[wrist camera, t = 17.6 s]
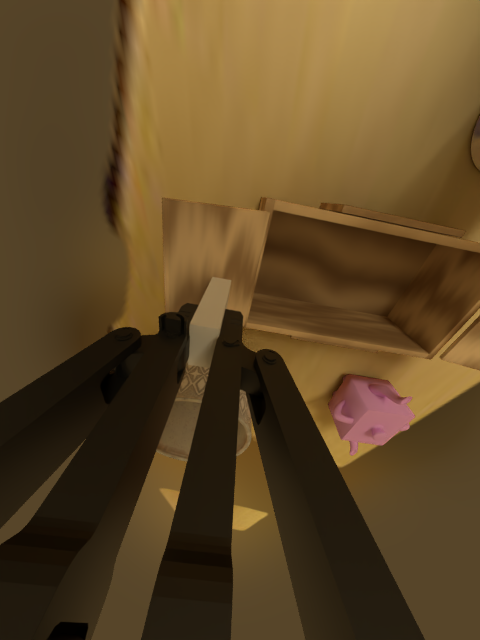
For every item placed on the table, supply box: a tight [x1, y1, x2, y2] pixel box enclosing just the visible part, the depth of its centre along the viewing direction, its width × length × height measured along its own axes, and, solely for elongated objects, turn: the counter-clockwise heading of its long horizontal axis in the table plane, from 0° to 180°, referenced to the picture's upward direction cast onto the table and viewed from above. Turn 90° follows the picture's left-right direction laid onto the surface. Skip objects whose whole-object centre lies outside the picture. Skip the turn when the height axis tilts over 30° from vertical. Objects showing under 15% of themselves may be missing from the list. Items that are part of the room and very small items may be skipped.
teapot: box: [328, 374, 415, 455], centre depth 40 cm, size 15×13×11 cm
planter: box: [156, 361, 251, 461], centre depth 37 cm, size 19×19×14 cm
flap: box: [162, 198, 270, 326], centre depth 17 cm, size 12×1×10 cm
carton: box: [243, 197, 480, 359], centre depth 26 cm, size 16×26×10 cm, turn 80°
